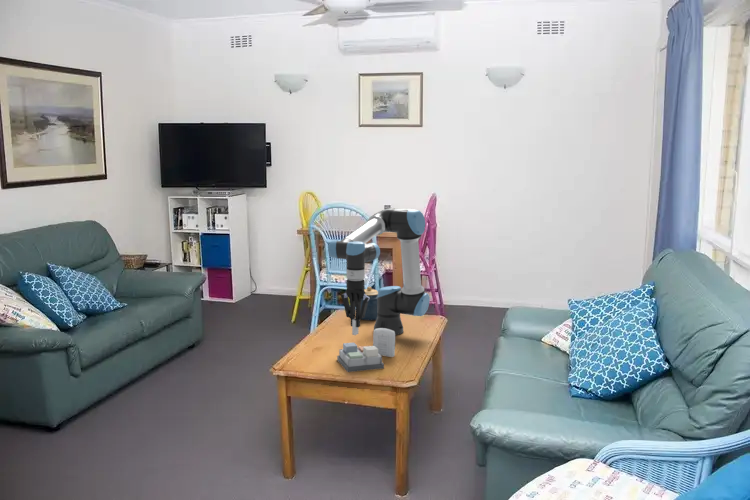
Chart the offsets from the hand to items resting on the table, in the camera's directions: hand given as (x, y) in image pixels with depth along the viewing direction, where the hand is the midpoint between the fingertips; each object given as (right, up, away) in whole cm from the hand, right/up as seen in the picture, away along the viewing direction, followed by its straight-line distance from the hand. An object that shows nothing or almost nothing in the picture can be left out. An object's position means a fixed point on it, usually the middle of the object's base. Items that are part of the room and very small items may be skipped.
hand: (355, 334), depth 260 cm
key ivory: (+6, -10, +4) cm, 12 cm away
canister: (+5, -2, +84) cm, 84 cm away
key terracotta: (+4, -11, +10) cm, 15 cm away
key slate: (-2, -9, +8) cm, 12 cm away
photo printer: (+12, -12, +19) cm, 26 cm away
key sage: (0, -12, +2) cm, 12 cm away
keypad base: (+2, -14, +6) cm, 15 cm away
